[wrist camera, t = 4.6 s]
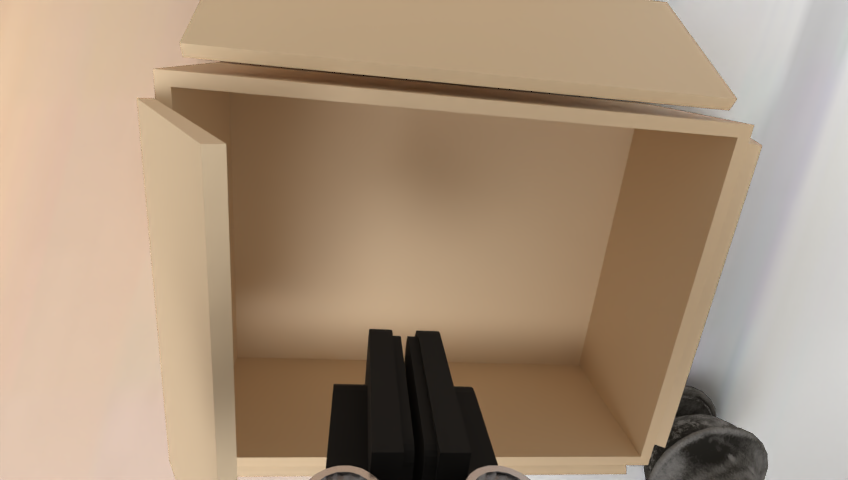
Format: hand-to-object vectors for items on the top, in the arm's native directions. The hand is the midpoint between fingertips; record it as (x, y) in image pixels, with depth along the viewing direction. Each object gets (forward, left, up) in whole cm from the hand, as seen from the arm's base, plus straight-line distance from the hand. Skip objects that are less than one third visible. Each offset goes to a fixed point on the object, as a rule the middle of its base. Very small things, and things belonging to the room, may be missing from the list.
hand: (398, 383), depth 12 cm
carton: (-4, 0, -10) cm, 11 cm away
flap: (+7, 0, -4) cm, 8 cm away
